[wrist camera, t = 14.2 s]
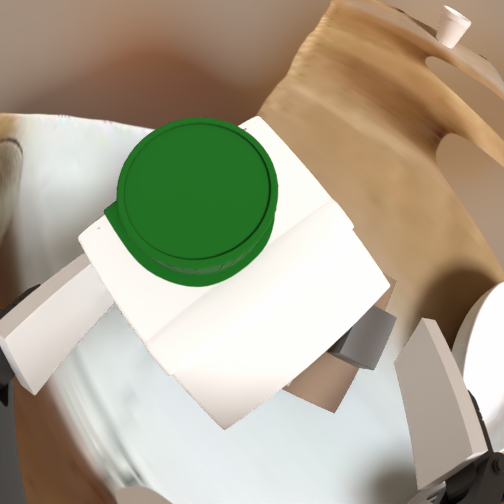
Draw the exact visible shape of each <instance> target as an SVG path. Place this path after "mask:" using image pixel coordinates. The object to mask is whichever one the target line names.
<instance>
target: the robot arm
mask: <svg viewBox="0 0 504 504" xmlns="http://www.w3.org/2000/svg"><path fill="white" fill-rule="evenodd" d="M114 303H115V302H114V300H113V298H112V297H111V295H110V294H109V292H108V291H107V289H106V287H105V286H104V284H103V283H102V281H101V279H100V278H99V276H98V274H97V273H96V271H95V269H94V267H93V266H92V264H91V262H90V261H89V259H88V257H87V255H86V253H85V252H84V253H83V254H82V255H80V256H79V257H77V258H76V259H75V260H73V261H72V262H71V263H69V264H68V265H67V266H65V267H64V268H63V269H61V270H60V271H59V272H57V273H56V274H55V275H53V276H52V277H51V278H50V279H48V280H47V281H46V282H44V283H43V284H42V285H40V284H39V285H36V286H34V287H32V288H29V289H28V290H26V291H25V292H24V293H23V294H21V295H20V296H19V298H17V299H15V300H14V301H13V302H12V304H9V305H8V306H7V307H6V308H5V309H4V310H2V311H1V312H0V504H27V500H26V496H25V492H24V487H23V483H22V477H21V472H20V466H19V460H18V452H17V444H16V434H15V420H14V385H13V381H12V378H13V377H14V376H15V375H16V377H17V379H18V381H19V382H20V384H21V385H22V386H23V387H24V388H26V389H27V390H28V391H30V392H31V393H32V394H34V395H36V394H37V393H38V391H39V390H40V389H41V388H42V386H43V385H44V384H45V383H46V381H47V380H48V379H49V377H50V376H51V375H52V374H53V373H54V371H55V370H56V369H57V368H58V366H59V365H60V364H61V363H62V362H63V360H64V359H65V358H66V357H67V356H68V354H69V353H70V352H71V351H72V350H73V349H74V347H75V346H76V345H77V344H78V343H79V342H80V340H81V339H82V338H83V337H84V336H85V335H86V334H87V332H88V331H89V330H90V329H91V328H92V327H93V326H94V325H95V323H96V322H97V321H98V320H99V319H100V318H101V317H102V316H103V315H104V313H105V312H106V311H107V310H108V309H109V308H110V307H111V306H112V305H113V304H114ZM394 366H395V370H396V373H397V377H398V381H399V385H400V390H401V394H402V398H403V403H404V407H405V412H406V417H407V422H408V427H409V432H410V438H411V444H412V450H413V456H414V463H415V470H416V478H417V487H418V490H422V489H428V488H433V487H435V486H437V485H439V484H440V483H442V482H444V481H445V483H446V486H445V487H443V488H441V489H439V490H438V491H436V492H434V493H432V494H431V495H429V496H428V497H427V498H426V499H427V500H429V499H431V498H433V497H435V496H437V497H436V498H435V499H433V500H432V501H431V503H433V504H502V503H503V502H504V454H503V453H500V452H494V451H493V448H492V445H491V442H490V438H489V435H488V432H487V429H486V426H485V423H484V420H482V419H483V417H482V414H481V412H479V411H480V409H479V406H478V404H477V401H476V399H475V397H474V396H473V395H472V393H471V392H470V391H469V390H467V387H466V385H465V383H464V380H463V378H462V375H461V373H460V371H459V368H458V366H457V364H456V362H455V360H454V357H453V355H452V353H451V351H450V349H449V347H448V345H447V343H446V340H445V338H444V336H443V334H442V332H441V330H440V328H439V327H438V325H437V323H436V321H435V320H432V319H427V318H422V319H421V320H420V322H419V324H418V326H417V327H416V329H415V331H414V332H413V334H412V335H411V337H410V339H409V340H408V342H407V343H406V345H405V346H404V348H403V350H402V351H401V353H400V354H399V356H398V357H397V359H396V360H395V361H394Z"/></svg>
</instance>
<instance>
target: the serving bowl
mask: <svg viewBox="0 0 504 504" xmlns="http://www.w3.org/2000/svg"><path fill="white" fill-rule="evenodd" d="M451 353H452V355H453V357H454V360H455V362H456V364H457V366H458V368H459V371H460V373H461V375H462V378H463V380H464V383H465V385H466V387H467V390H469V391H470V392H471V393H472V395H473V396H474V397H475V399H476V401H477V404H478V406H479V409H480V411H479V412H481V414H482V417H483V419H482V420H484V423H485V426H486V429H487V432H488V435H489V438H490V442H491V445H492V448H493V451H494V452H500V453H501V452H503V451H504V281H502V282H500V283H498V284H497V285H495V286H494V287H492V288H491V289H490V290H488V291H487V292H486V293H485V294H483V295H482V296H481V297H480V298H479V299H478V301H477V302H476V303H475V304H474V305H473V306H472V308H471V309H470V311H469V312H468V314H467V315H466V317H465V319H464V321H463V323H462V325H461V327H460V329H459V331H458V334H457V336H456V339H455V342H454V345H453V348H452V352H451Z"/></svg>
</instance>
